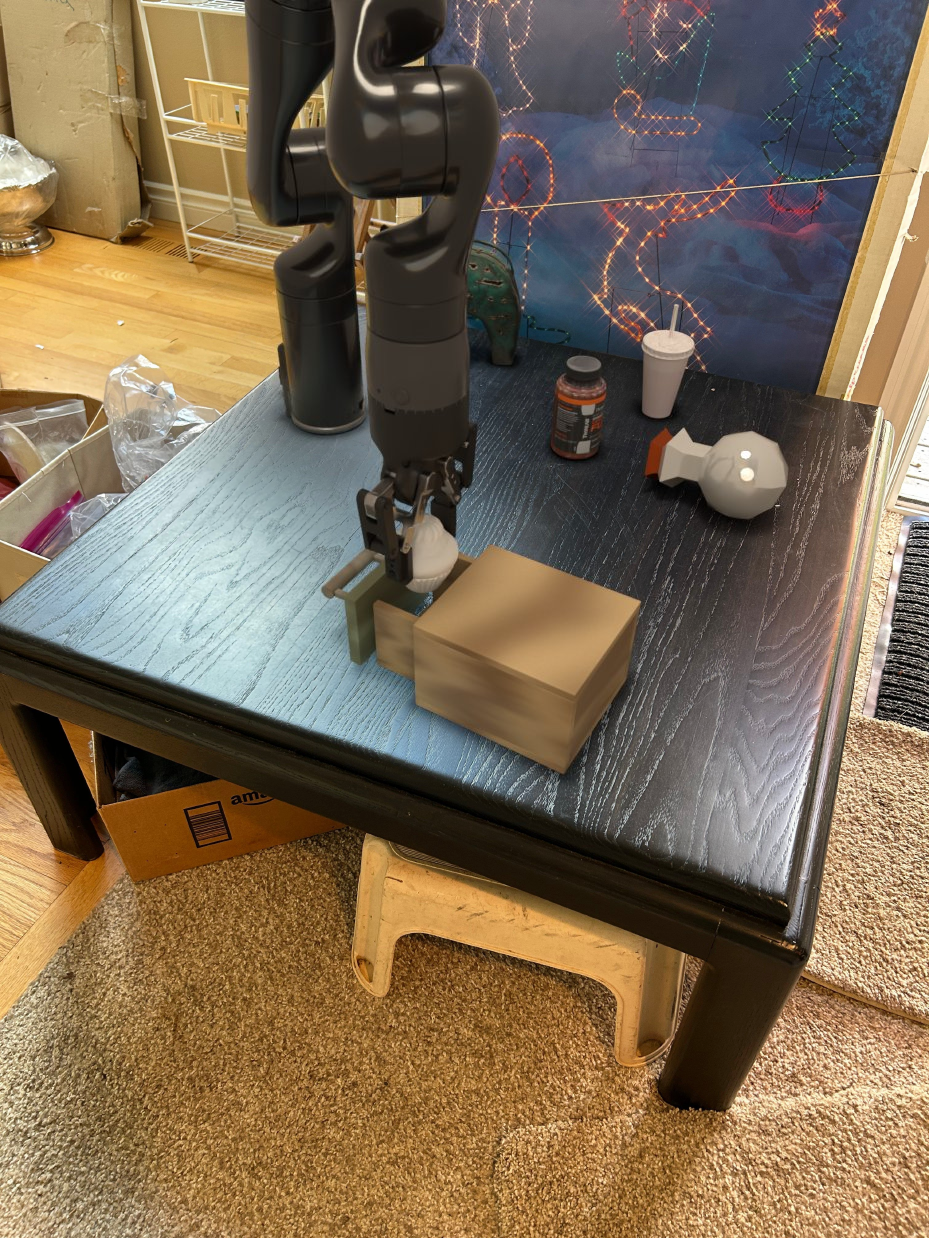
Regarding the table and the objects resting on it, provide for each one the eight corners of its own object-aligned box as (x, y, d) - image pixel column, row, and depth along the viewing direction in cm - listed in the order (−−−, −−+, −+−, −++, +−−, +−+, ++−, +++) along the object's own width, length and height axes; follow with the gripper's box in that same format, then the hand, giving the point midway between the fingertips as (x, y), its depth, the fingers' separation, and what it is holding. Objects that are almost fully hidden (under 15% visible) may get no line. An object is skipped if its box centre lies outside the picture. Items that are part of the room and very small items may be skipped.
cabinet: (415, 704, 79) (412, 624, 73) (487, 621, 87) (490, 543, 81) (563, 774, 74) (574, 695, 67) (626, 680, 82) (641, 600, 75)
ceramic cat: (376, 359, 127) (367, 211, 114) (386, 339, 132) (379, 195, 118) (515, 371, 125) (524, 222, 111) (521, 351, 130) (530, 205, 116)
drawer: (311, 642, 84) (301, 578, 78) (382, 576, 91) (378, 512, 86) (477, 720, 77) (480, 656, 72) (540, 642, 84) (546, 577, 79)
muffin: (376, 594, 78) (371, 529, 73) (405, 552, 82) (403, 489, 77) (442, 612, 76) (442, 547, 71) (468, 569, 80) (470, 505, 76)
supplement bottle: (596, 464, 108) (607, 378, 100) (546, 458, 109) (554, 372, 101) (600, 438, 112) (612, 354, 105) (553, 433, 113) (560, 348, 105)
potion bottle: (773, 543, 99) (649, 509, 107) (806, 465, 101) (681, 437, 108) (763, 508, 91) (630, 474, 99) (799, 424, 93) (665, 397, 100)
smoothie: (688, 407, 118) (709, 303, 109) (669, 428, 114) (689, 323, 105) (643, 394, 121) (660, 291, 111) (623, 414, 117) (639, 309, 107)
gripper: (428, 331, 72) (430, 503, 83) (316, 408, 63) (336, 589, 74) (511, 355, 69) (501, 529, 80) (405, 439, 60) (411, 623, 71)
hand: (422, 557), depth 77 cm, fingers closed on muffin, 6 cm apart
